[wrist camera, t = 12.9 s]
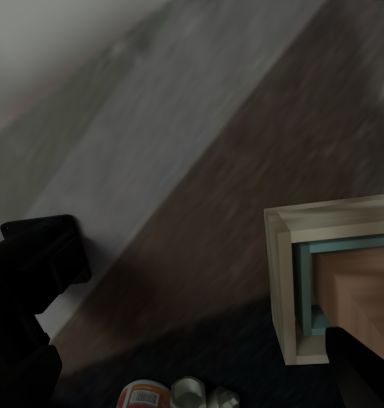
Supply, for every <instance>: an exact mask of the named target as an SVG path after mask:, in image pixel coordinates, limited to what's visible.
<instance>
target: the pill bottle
mask: <svg viewBox="0 0 384 408" xmlns="http://www.w3.org/2000/svg"><path fill="white" fill-rule="evenodd" d="M170 395H171V391H170V390H169V389H168V388H167V387H166V386H164V385H163V384H161V383H159V382H156V381H153V380H146V379H143V380H137V381H134V382H132V383H130V384H128V385H127V386H126V387H125V388H124V389H123V391H122V393H121V395H120V398H119V400H118V403H117V406H116V408H170Z"/></svg>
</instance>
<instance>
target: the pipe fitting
mask: <svg viewBox="0 0 384 408" xmlns="http://www.w3.org/2000/svg"><path fill="white" fill-rule="evenodd" d="M239 402H240V399H239V396H238V394H237V393H236V392H234V393H233V392H232V391H231V390H227V389H225V388H224V387H223V386H218V387H217V388H216V389H214V390H213V391H212V392H210V393H209V394H208V395H207V396H205V383H203V382H202V381H200V380H199V379H197V378H195V377H193V376H184V377H182V378H180V379H179V380H177V381H176V382H174V383H173V384H172V385H171V395H170V408H239Z"/></svg>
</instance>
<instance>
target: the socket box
mask: <svg viewBox="0 0 384 408" xmlns="http://www.w3.org/2000/svg"><path fill="white" fill-rule="evenodd" d="M264 218H265V230H266V243H267V256H268V268H269V281H270V294H271V306H272V319H273V324H274V327H275V330H276V334H277V337H278V340H279V344H280V347H281V350H282V354H283V357H284V360H285V364H286V365H299V364H319V363H329V360H328V357H327V354H326V349H325V330H326V328H327V327H331V325H330V323H329V321H328V320H327V318H326V316H325V314H324V313H323V311H322V309H321V307H320V306H319V304H318V302H317V300H316V299H315V297H314V295H313V270H312V253H316V252H326V251H336V250H346V249H356V248H366V247H376V246H383V247H384V194H382V195H374V196H365V197H357V198H349V199H341V200H333V201H325V202H316V203H308V204H300V205H292V206H284V207H276V208H267V209H264Z"/></svg>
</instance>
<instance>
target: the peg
mask: <svg viewBox="0 0 384 408" xmlns="http://www.w3.org/2000/svg"><path fill="white" fill-rule="evenodd" d="M312 270H313V295H314V297H315V299H316V300H317V302H318V304H319V306H320V307H321V309H322V311H323V313H324V314H325V316H326V318H327V320H328V321H329V323H330V325H331V327H336V326H339V327H342V328H343V329H344V330H346V331H347V332H348V333H350V334H351V335H352V336H354V337H355V338H356V339H358V340H359V341H360V342H362V343H363V344H364V345H365V346H367V347H368V348H369V349H371V350H372V351H373V352H375V353H376V354H377V355H379V356H380V357H381V358H383V359H384V247H383V246H376V247H366V248H356V249H346V250H336V251H326V252H316V253H312Z"/></svg>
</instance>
